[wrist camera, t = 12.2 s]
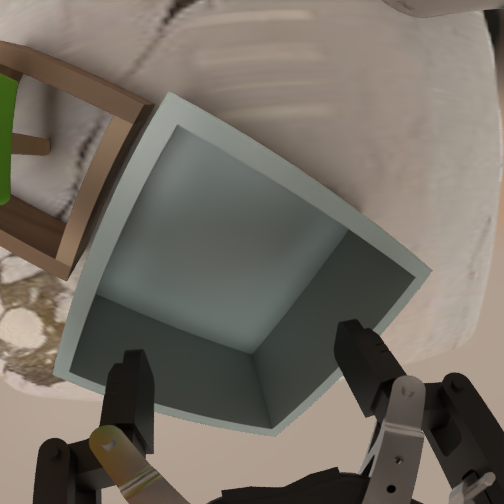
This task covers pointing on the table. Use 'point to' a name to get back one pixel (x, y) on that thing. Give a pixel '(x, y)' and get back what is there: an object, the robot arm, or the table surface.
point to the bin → (228, 277)
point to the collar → (97, 177)
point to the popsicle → (13, 137)
